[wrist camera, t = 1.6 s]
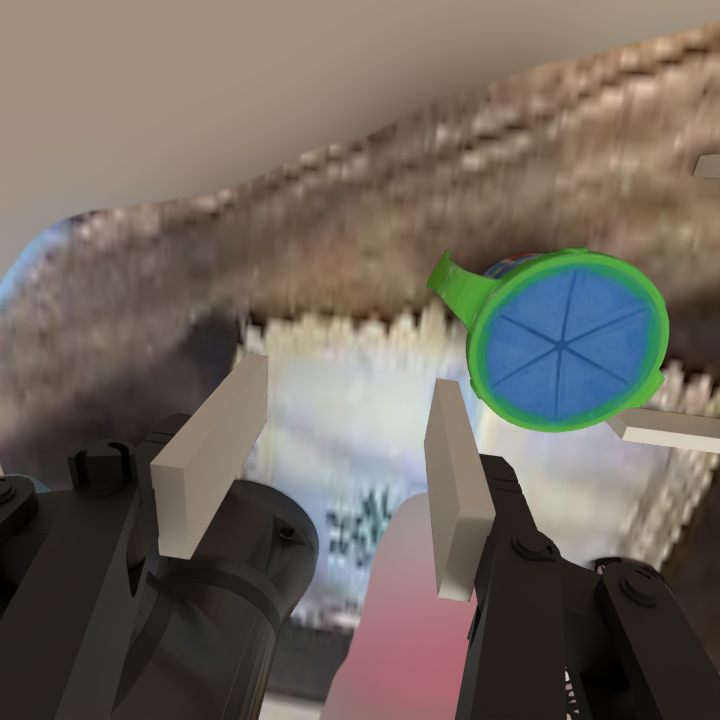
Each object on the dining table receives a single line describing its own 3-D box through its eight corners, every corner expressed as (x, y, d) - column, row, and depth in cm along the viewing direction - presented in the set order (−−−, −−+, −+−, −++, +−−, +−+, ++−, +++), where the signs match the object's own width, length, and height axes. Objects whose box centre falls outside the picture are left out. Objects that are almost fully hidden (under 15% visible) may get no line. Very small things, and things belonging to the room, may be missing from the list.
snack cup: (649, 303, 32) (753, 354, 22) (549, 405, 36) (602, 485, 26) (482, 178, 30) (520, 177, 20) (394, 301, 33) (392, 348, 24)
